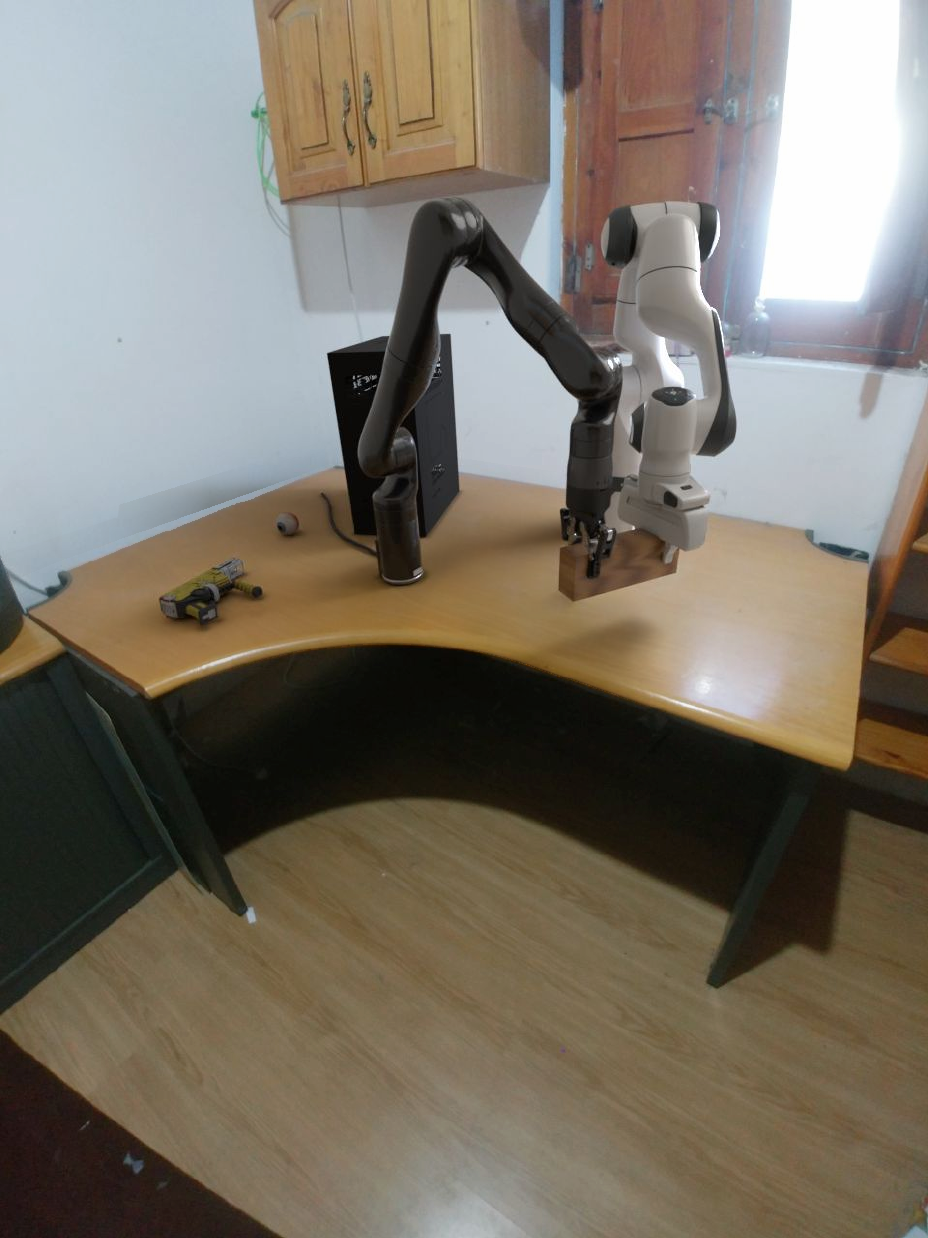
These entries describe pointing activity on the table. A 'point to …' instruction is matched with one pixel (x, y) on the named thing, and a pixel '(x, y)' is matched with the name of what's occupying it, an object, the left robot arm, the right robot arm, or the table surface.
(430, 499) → the cardboard box
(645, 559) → the bar
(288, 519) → the eyeball
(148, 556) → the table surface
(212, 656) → the table surface
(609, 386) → the left robot arm
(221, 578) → the toy gun
